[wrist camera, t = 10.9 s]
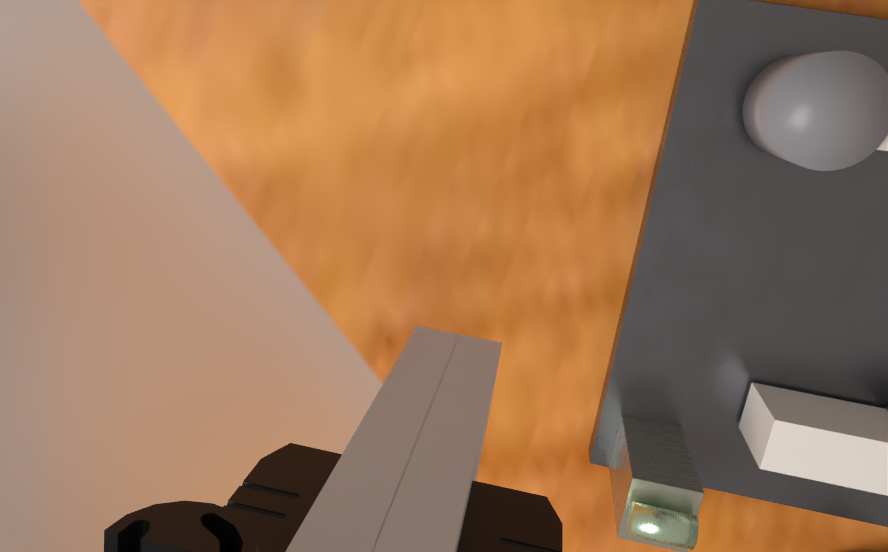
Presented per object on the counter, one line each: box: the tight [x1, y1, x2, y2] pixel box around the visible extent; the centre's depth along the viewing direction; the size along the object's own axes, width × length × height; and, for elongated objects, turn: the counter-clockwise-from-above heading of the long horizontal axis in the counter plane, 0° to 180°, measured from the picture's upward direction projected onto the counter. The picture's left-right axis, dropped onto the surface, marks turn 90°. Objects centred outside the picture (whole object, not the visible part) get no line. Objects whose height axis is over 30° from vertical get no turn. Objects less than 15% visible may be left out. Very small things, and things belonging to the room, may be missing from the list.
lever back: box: [739, 382, 888, 496], centre depth 33 cm, size 10×4×4 cm, turn 81°
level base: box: [589, 0, 888, 552], centre depth 31 cm, size 23×16×9 cm
